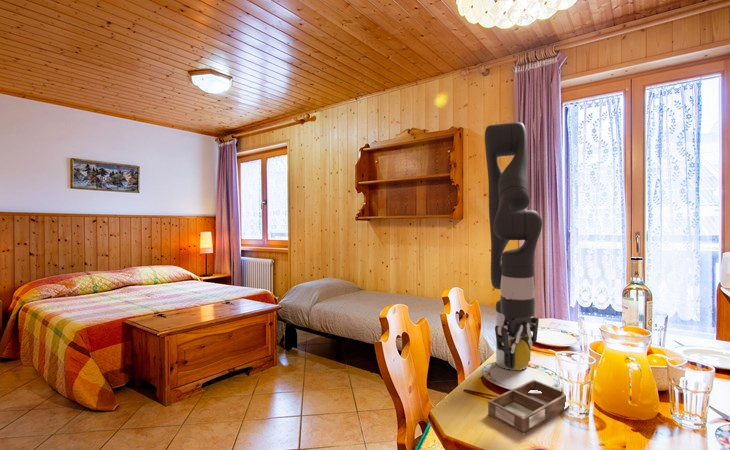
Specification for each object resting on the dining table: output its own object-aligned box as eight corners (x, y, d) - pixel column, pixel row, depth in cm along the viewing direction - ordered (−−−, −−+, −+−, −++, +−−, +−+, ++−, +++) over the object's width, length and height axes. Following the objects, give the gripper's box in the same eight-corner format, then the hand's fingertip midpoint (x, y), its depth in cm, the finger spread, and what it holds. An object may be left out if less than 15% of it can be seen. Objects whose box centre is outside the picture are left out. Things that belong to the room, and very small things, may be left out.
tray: (533, 392, 103) (533, 379, 103) (569, 407, 95) (569, 394, 95) (487, 415, 93) (487, 401, 93) (524, 434, 85) (524, 419, 84)
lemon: (532, 375, 88) (532, 341, 87) (507, 374, 89) (507, 340, 88) (527, 365, 93) (527, 333, 93) (503, 364, 94) (503, 332, 94)
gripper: (521, 287, 97) (521, 352, 98) (484, 296, 89) (485, 366, 90) (549, 292, 91) (549, 361, 92) (512, 302, 83) (512, 377, 84)
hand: (517, 363), depth 91 cm, fingers closed on lemon, 5 cm apart
